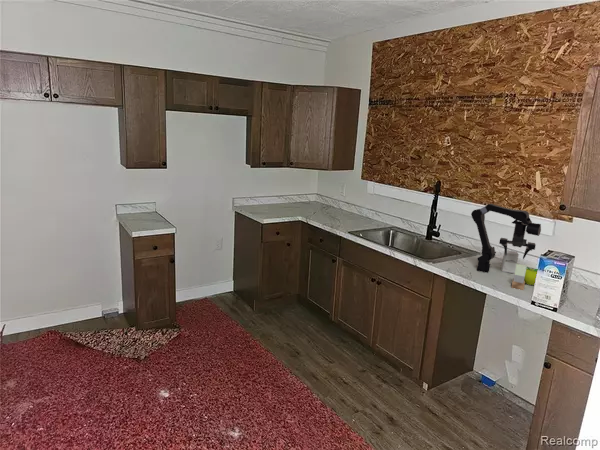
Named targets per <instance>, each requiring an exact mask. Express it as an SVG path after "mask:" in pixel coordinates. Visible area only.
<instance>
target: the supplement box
mask: <svg viewBox="0 0 600 450" xmlns="http://www.w3.org/2000/svg"><path fill="white" fill-rule="evenodd" d="M502 257H503V258H502V261H501V267H500V269H501V271H502V272H504V273H511V274H515V270H516V264H518V259H519V252H518V251H515V250H514V251H513V250H508V249H507V255H505V249H504V252H503V255H502Z"/></svg>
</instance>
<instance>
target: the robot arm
mask: <svg viewBox="0 0 600 450" xmlns="http://www.w3.org/2000/svg"><path fill="white" fill-rule="evenodd" d="M471 211H472V212H471V218H472V221H473V222H474V223H475V225H476V227H477V232H478V236H479V239H480V242H481V255H480V256H479V257H477V268H476V271H478V272H483V273H489V272H490V268H491V263H490V261H491V260H493V259H494V258H495V257H496V253H497V252H496V250H495V249H496V247H495V246H492V245H491V242H490V241H489V235H488V232H487V228H486V225H485V219H486V216H485V214H487V213H489V212H492V213H493V212H494V213H496V214H501V215H504V216H508V217H510V218H512V219H513V221H511V224H514V229H513V236H512V240H508V238H505V237H501V238H500V239H499V241H498V242H499V245H501V246H502V247H503V249H504V250H505V255H507V250H508V244H509V245H512V247H518V248H522V247H525V250H524V253H523V257H522V259H523V260H524V259H525V258H526V257H527V255H528V253H529V252H530V251H533V250H536V245H537V244H536V243H535V242H531V241H530V242H529V241H528V242H527V239H525V234H526V233H527V234H528V235H534V236H540V235H541V232H542V224H541V223H535V222H533V221H532V220H531V218H530V213H529V212H528V211H527V210H522V209H513V208H512V209H511V208H508V207H503V206H500V205H497V204H493V203H489V204H486V205H484V206H483V207H481V208H477V209H473V210H471Z"/></svg>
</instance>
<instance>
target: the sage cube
mask: <svg viewBox="0 0 600 450" xmlns="http://www.w3.org/2000/svg"><path fill="white" fill-rule="evenodd" d="M526 267H527V265H525V264H519V263H517V264H516V270H515V273H514V275H520V276H525V273H526V269H527V268H526Z"/></svg>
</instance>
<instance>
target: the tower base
mask: <svg viewBox="0 0 600 450" xmlns="http://www.w3.org/2000/svg"><path fill="white" fill-rule="evenodd" d="M513 280H514V277H513V278H512V282H511V288H512V289H514V288H515V289H516V290H519V289H520V290H519V291H524V289H525V284H526V283H525V281H524V283H519V282H514V281H513Z"/></svg>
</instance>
